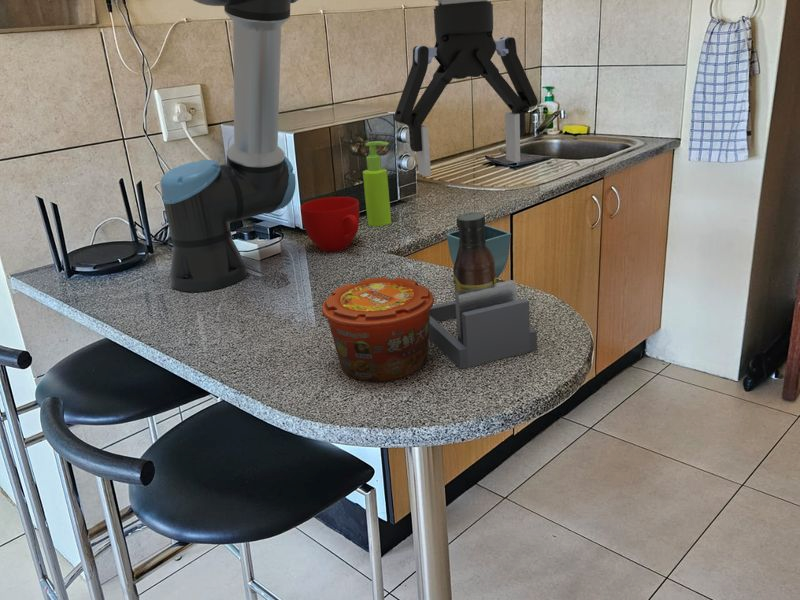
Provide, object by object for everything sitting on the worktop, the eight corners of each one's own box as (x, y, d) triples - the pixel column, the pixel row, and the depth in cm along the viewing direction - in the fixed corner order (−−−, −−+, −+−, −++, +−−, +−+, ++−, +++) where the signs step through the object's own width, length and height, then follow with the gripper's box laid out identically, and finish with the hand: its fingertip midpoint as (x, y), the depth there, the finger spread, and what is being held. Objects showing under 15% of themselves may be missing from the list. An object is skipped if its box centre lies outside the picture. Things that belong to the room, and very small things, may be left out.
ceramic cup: (333, 264, 145) (328, 218, 142) (295, 248, 158) (289, 205, 155) (384, 249, 152) (380, 205, 148) (343, 234, 165) (339, 193, 161)
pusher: (458, 355, 102) (455, 292, 98) (513, 341, 105) (512, 279, 101) (461, 358, 101) (458, 295, 97) (517, 344, 104) (516, 282, 100)
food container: (307, 376, 100) (297, 308, 96) (368, 332, 112) (362, 270, 108) (402, 399, 92) (395, 325, 88) (456, 348, 104) (453, 282, 100)
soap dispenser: (390, 226, 168) (383, 143, 161) (364, 226, 171) (356, 144, 163) (398, 219, 173) (391, 139, 166) (372, 219, 176) (365, 140, 168)
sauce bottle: (474, 328, 110) (467, 206, 103) (507, 336, 106) (503, 210, 99) (449, 343, 106) (440, 217, 99) (483, 353, 102) (476, 222, 95)
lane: (413, 324, 114) (409, 278, 111) (481, 308, 117) (479, 264, 114) (460, 369, 98) (457, 317, 95) (536, 349, 102) (536, 299, 99)
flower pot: (475, 290, 125) (473, 243, 122) (447, 278, 132) (444, 233, 129) (513, 278, 129) (512, 232, 126) (483, 267, 136) (482, 223, 133)
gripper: (380, 7, 81) (395, 186, 89) (563, -8, 88) (562, 158, 96) (360, 10, 88) (376, 176, 96) (533, -4, 95) (534, 151, 103)
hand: (469, 167), depth 96 cm, fingers open, 13 cm apart
